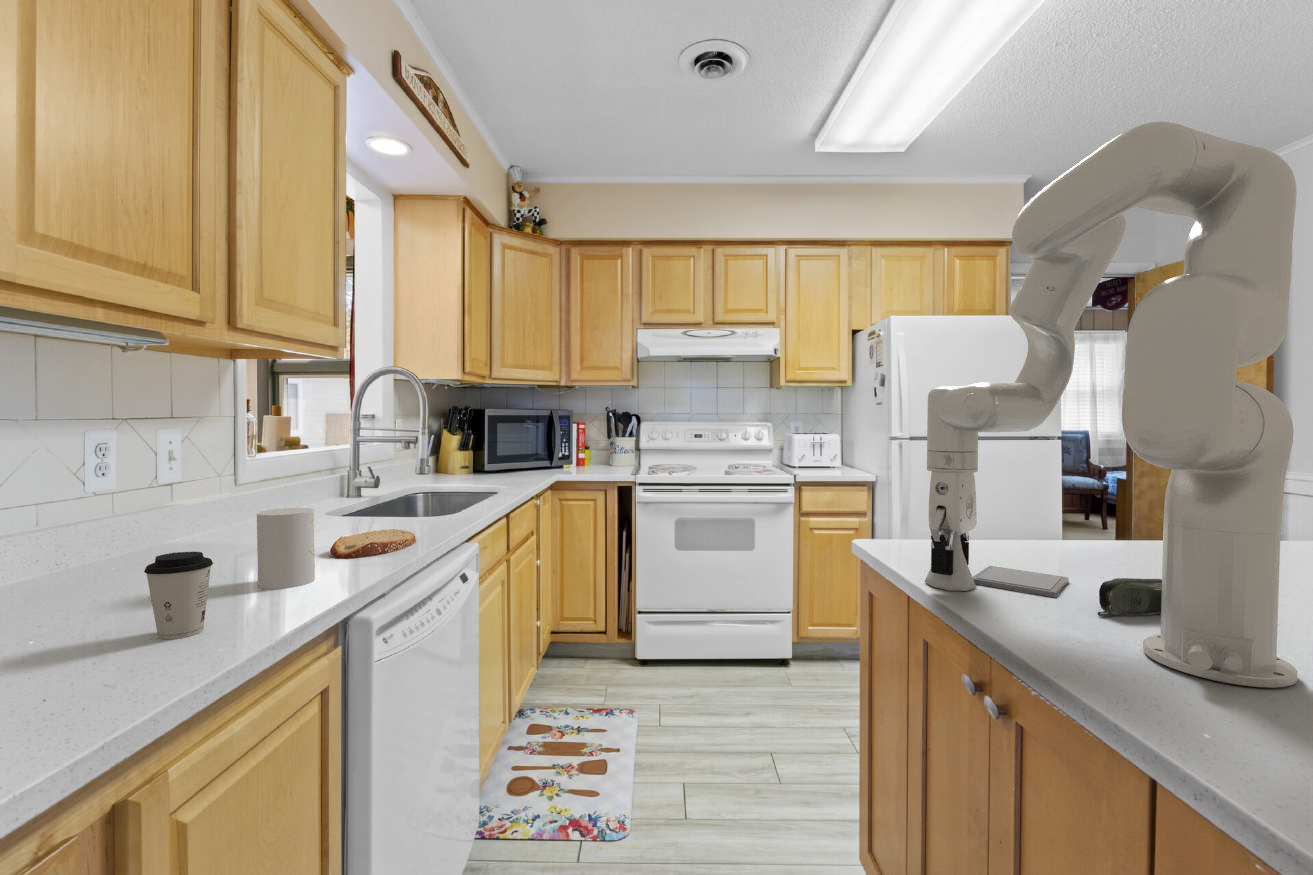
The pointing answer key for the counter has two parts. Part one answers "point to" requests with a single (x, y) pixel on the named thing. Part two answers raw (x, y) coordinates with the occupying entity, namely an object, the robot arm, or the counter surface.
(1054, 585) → the grey square plate
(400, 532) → the slice of bread
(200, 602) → the coffee cup
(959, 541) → the flask
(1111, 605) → the dark green rounded block
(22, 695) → the counter surface
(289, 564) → the cup
